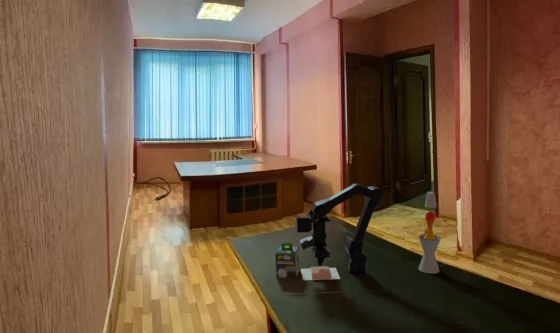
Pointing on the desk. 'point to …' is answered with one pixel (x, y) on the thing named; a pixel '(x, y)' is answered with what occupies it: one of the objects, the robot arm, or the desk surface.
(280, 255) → the chalk box
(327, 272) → the block
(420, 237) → the lava lamp
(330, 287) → the desk surface
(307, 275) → the board
